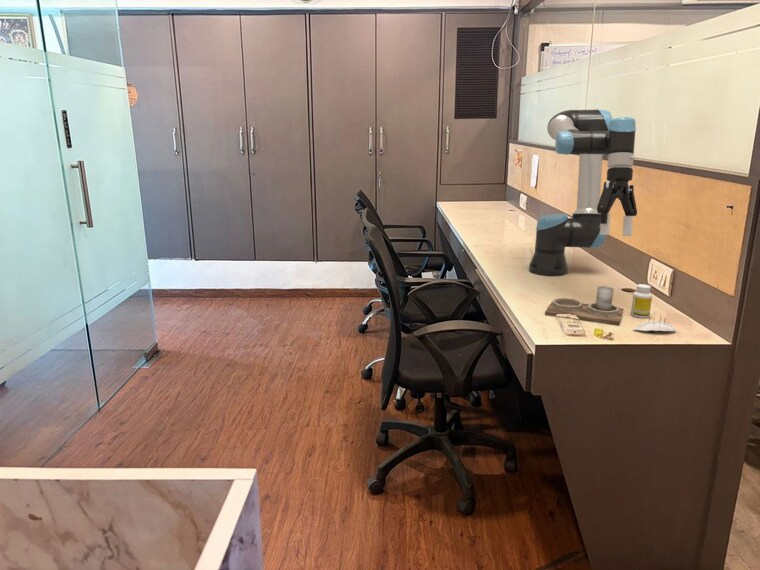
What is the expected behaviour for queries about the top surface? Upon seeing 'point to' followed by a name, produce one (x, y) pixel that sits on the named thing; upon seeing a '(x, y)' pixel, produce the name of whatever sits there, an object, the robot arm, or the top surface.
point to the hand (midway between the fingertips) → (616, 235)
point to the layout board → (586, 315)
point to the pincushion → (655, 326)
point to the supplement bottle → (641, 301)
